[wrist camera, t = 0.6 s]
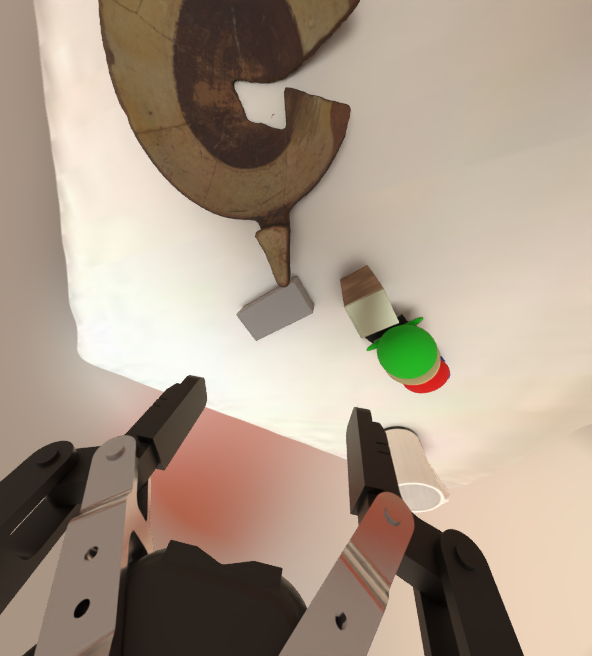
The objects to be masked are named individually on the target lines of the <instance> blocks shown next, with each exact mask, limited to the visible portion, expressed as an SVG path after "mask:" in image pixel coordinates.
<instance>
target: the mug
mask: <svg viewBox="0 0 592 656" xmlns="http://www.w3.org/2000/svg"><path fill="white" fill-rule="evenodd" d="M384 431H385V432H386V435H387V439H388V443H389V447H390V452H391V456H392V460H393V464H394V469H395V473H396V477H397V481H398V486H399V490H400V494H401V496H402V499H403V500H404V502H405V503H406V504H407V506H408V507H409V509H410V510H411V512H425V511H430V510H432V509H435V508H437V507H439V506H440V505H441V504H442V503H447V502H448V501H449V498H450V495H449V493H448V491H447V489H446V487H445V486H444V484H443V483H442V481H441V480H440V479H439V477H438V476H437V474H436V473H435V471H434V470H433V468H432V467H431V465H430V464H429V463H428V461H427V458H426V456H425V454H424V451H423V449H422V446H421V444H420V442H419V439H418V437H417V435H416V434H415V433H414V432H413V431H411V430H410V429H407V428H404V427H390V428H386V429H384Z"/></svg>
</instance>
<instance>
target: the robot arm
mask: <svg viewBox="0 0 592 656" xmlns="http://www.w3.org/2000/svg"><path fill="white" fill-rule="evenodd" d="M206 402H207V393H206V386H205V379H204V378H202V377H197V376H192V375H189V376H187V377H186V378H185V379H184V380H183V382H182V383H181V384H179V383H176V384H174V385H173V386H171V387H170V388H168V389H166V391H165V392H164V393H163V394H162V395H161V396H160V397H159V399H157V400H156V402H154V404H153V406H151V407H150V408H149V409H148V410H147V411H146V412H145V414H144V415H143V416H142V417H141V418H140V419H139V420H138V421H137V422H136V423H135V424H134V425H133V427H131V429H130V430H129V431H128V432H127V433H126V434H125V435H122V436H118V437H115V438H112V439H110V440H109V441H107V442H105V443H104V444H103V445H102V446H97V447H88V448H79V449H75V447H74V446H73V444H72V443H71V442H68V441H58V442H54V443H51V444H49V445H46V446H44V447H42V448H41V449H39V450H37V451H36V452H35V453H33V454H32V455H31V456H30V457H29V458H27V459H26V460H25V461H24V462H23V463H22V464H20V465H19V466H18V467H17V468H16V469H15V470H14V471H12V472H11V473H10V474H9V475H8V476H7V477H6V478H4V479H3V480H2V481H1V482H0V614H1V613H2V612H3V610H4V609H5V608H6V606H7V605H8V604H9V603H10V601H11V600H12V599H13V598H14V596H15V595H16V594H17V592H18V591H19V590H20V589H21V587H22V586H23V585H24V583H25V582H26V581H27V580H28V578H29V577H30V576H31V574H32V573H33V572H34V570H35V569H36V568H37V567H38V565H39V564H40V562H41V561H42V560H43V559H44V558H45V556H46V555H47V554H48V553H49V551H50V550H51V549H52V547H53V546H54V545H55V543H56V542H57V541H58V540H59V538H60V537H61V536H62V535H63V533H64V532H65V531H66V533H65V537H64V541H63V545H62V549H61V553H60V557H59V561H58V565H57V568H56V572H55V576H54V581H53V584H52V588H51V592H50V596H49V600H48V604H47V608H46V612H45V615H44V619H43V623H42V627H41V631H40V635H39V639H38V643H37V644H36V645H35V646H33V647H32V648H31V649H30V650H29V651H27V652H26V653H25V654H24V655H23V656H367V653H368V651H369V648H370V646H371V643H372V641H373V638H374V636H375V633H376V631H377V629H378V626H379V624H380V621H381V619H382V616H383V614H384V611H385V609H386V606H387V603H388V599H389V589H390V587H391V584H392V582H393V579H394V577H395V575H397V576H399V577H400V578H401V579H403V580H404V581H406V582H407V583H409V584H410V585H411V586H413V590H414V595H415V602H416V607H417V613H418V619H419V625H420V631H421V637H422V643H423V649H424V655H425V656H524V655H523V652H522V649H521V647H520V644H519V642H518V639H517V637H516V634H515V632H514V629H513V627H512V624H511V621H510V619H509V616H508V614H507V611H506V609H505V606H504V604H503V601H502V599H501V596H500V593H499V591H498V588H497V586H496V584H495V581H494V578H493V576H492V573H491V570H490V568H489V566H488V563H487V561H486V559H485V557H484V555H483V553H482V552H481V550H480V549H479V548H478V546H477V545H476V544H475V543H474V542H473V541H472V540H471V539H470V538H469V537H468V536H466V535H465V534H463V533H462V532H460V531H457V530H453V529H448V530H446V531H444V532H441V531H440V530H438V529H436V528H435V527H433V526H431V525H429V524H428V523H426V522H424V521H423V520H421V519H420V518H418V517H417V516H416V515H414V514H413V513H412V512H411V510H410V509H409V507H408V506H407V504H406V503H405V502H404V500H403V499H402V496H401V494H400V490H399V486H398V481H397V477H396V473H395V469H394V464H393V460H392V456H391V452H390V447H389V443H388V439H387V435H386V432H385V431H384V429H383V427H382V426H381V424H380V423H377V422H372V417H371V412H370V410H368V409H363V408H358V407H354V408H353V411H352V414H351V417H350V420H349V423H348V426H347V432H346V443H347V461H348V479H349V496H350V513H351V514H353V515H357V516H358V523H359V526H358V528H357V529H356V531H355V533H354V534H353V536H352V538H351V539H350V541H349V543H348V544H347V545H346V547H345V548H344V550H343V552H342V553H341V555H340V557H339V558H338V560H337V561H336V563H335V565H334V566H333V568H332V570H331V571H330V573H329V574H328V576H327V578H326V579H325V581H324V583H323V584H322V586H321V587H320V589H319V591H318V592H317V594H316V596H315V597H314V599H313V600H312V602H311V604H310V605H309V607H308V609H307V607H306V605H305V603H304V601H303V599H302V598H301V596H300V594H299V593H298V591H297V590H296V589H295V588H294V586H292V584H291V583H290V582H289V581H287V580H286V579H285V578H284V577H282V576H281V575H282V568H280V567H276V566H272V565H268V564H264V563H260V562H256V561H250V562H242V563H233V564H220V563H219V562H217V561H216V560H215V559H213V558H212V557H211V556H209V555H208V554H207V553H205V552H204V551H203V550H201V549H200V548H199V547H197V546H193V545H189V544H185V543H181V542H178V541H174V540H171V541H170V542H169V544H168V547H167V548H166V549H161V550H157V551H155V552H153V537H152V532H151V524H150V512H151V511H150V510H151V505H150V503H151V477H150V476H151V474H152V473H153V472H154V470H155V469H160V470H165V469H166V467H167V466H168V464H169V463H170V461H171V459H172V458H173V456H174V455H175V453H176V452H177V450H178V448H179V447H180V445H181V444H182V442H183V441H184V439H185V438H186V436H187V435H188V433H189V431H190V430H191V428H192V427H193V425H194V424H195V422H196V420H197V419H198V418H199V416H200V414H201V413H202V411H203V410H204V408H205V406H206ZM43 498H45V499H44V500H43V501H42V502H41V503H40V501H41V500H42V499H43ZM39 503H40V504H39ZM38 504H39V505H38ZM37 505H38V506H37ZM36 506H37V507H36ZM35 507H36V508H35ZM34 508H35V509H34ZM33 509H34V510H33ZM32 510H33V512H32V513H31V514H30V515H29V516H28V517H27V518H26V519H25V517H26V516H27V515H28V514H29V513H30V512H31V511H32ZM24 519H25V520H24ZM23 520H24V521H23ZM22 521H23V522H22ZM21 522H22V523H21ZM20 523H21V524H20ZM19 524H20V526H19V527H18V528H17V529H16V530H15V531H14V532H13V533H12V531H13V530H14V529H15V528H16V527H17V526H18V525H19ZM11 533H12V534H11ZM10 534H11V535H10Z"/></svg>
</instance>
